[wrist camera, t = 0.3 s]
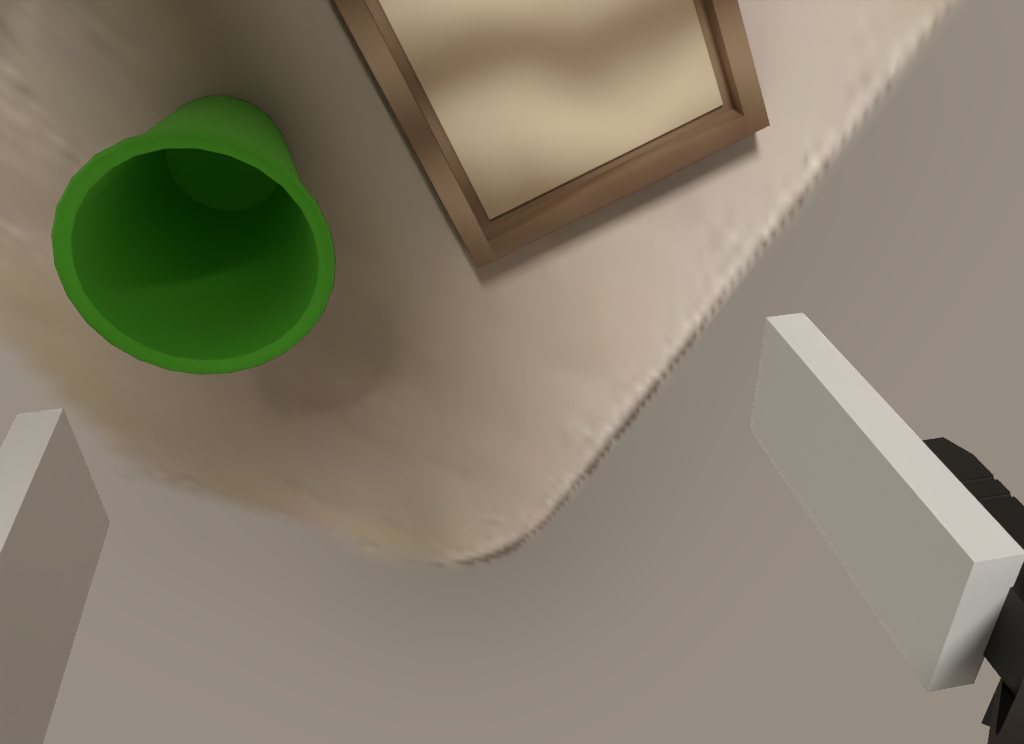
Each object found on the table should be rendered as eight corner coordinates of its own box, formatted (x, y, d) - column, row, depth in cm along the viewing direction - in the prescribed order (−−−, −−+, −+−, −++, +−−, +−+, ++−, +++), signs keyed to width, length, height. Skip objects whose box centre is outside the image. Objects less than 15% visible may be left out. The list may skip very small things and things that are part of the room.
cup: (284, 275, 42) (274, 408, 33) (87, 194, 38) (15, 320, 29) (366, 110, 38) (380, 209, 29) (157, 3, 34) (100, 80, 25)
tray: (310, -53, 34) (309, -45, 33) (657, -240, 33) (674, -241, 31) (471, 250, 43) (477, 268, 41) (752, 111, 42) (769, 125, 40)
